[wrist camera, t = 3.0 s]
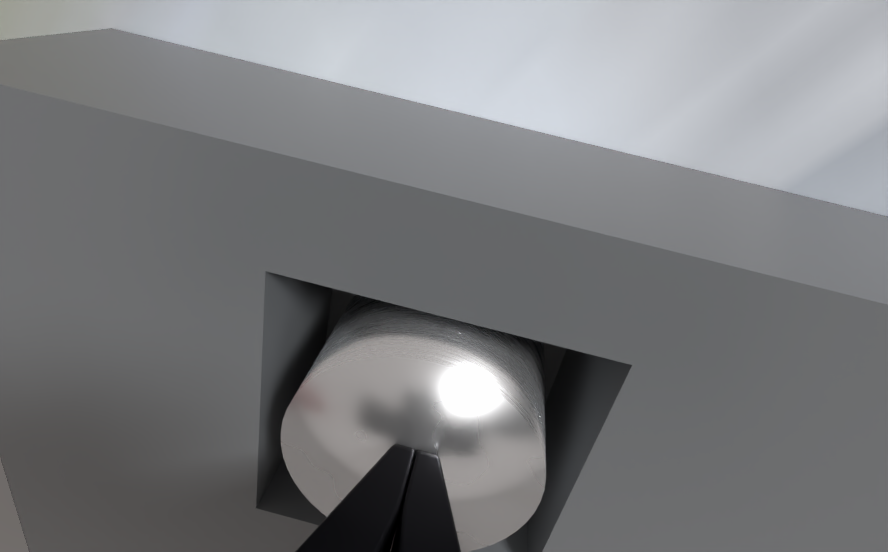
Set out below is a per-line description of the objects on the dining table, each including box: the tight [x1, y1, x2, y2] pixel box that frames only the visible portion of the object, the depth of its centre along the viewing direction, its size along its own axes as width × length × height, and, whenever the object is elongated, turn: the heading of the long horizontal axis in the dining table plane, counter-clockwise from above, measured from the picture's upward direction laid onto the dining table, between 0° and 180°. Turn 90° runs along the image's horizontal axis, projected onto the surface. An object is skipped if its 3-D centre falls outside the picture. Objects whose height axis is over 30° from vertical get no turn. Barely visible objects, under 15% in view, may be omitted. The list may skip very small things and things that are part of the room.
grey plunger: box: [281, 294, 546, 552], centre depth 11 cm, size 5×5×4 cm
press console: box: [0, 28, 888, 552], centre depth 15 cm, size 18×20×5 cm
